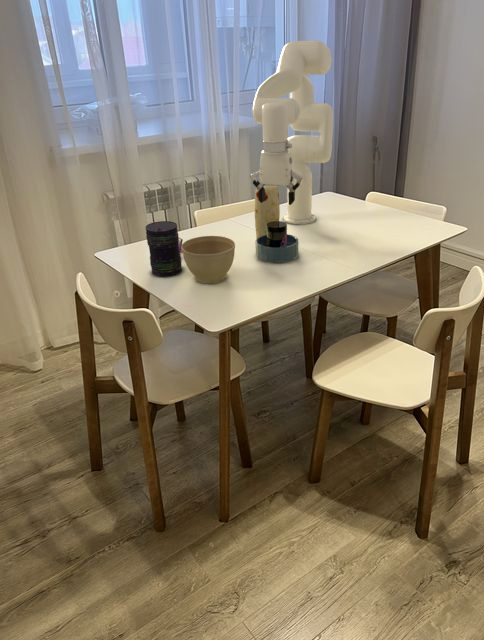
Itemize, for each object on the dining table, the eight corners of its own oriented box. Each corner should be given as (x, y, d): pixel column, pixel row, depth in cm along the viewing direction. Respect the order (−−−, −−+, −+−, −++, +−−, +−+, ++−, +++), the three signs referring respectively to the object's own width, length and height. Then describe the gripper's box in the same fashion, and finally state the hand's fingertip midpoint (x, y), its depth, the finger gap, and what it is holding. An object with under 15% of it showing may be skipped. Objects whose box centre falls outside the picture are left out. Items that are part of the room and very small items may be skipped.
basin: (264, 247, 189) (264, 231, 186) (303, 250, 185) (303, 235, 182) (250, 261, 178) (249, 245, 175) (291, 266, 173) (291, 249, 170)
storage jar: (155, 265, 177) (148, 221, 169) (184, 265, 177) (179, 220, 169) (148, 277, 169) (141, 231, 161) (179, 277, 168) (174, 231, 160)
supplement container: (274, 259, 177) (274, 228, 171) (263, 253, 182) (262, 223, 176) (291, 254, 180) (291, 224, 175) (279, 249, 185) (279, 219, 179)
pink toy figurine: (167, 232, 185) (179, 239, 179) (180, 234, 188) (193, 240, 182) (163, 251, 187) (176, 258, 181) (176, 252, 191) (189, 259, 184)
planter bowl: (194, 292, 158) (190, 257, 152) (179, 273, 171) (175, 240, 165) (244, 282, 163) (243, 248, 158) (226, 264, 176) (224, 232, 170)
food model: (261, 246, 189) (260, 189, 179) (251, 241, 194) (248, 185, 184) (284, 240, 194) (283, 184, 184) (273, 235, 199) (272, 180, 188)
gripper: (306, 145, 164) (305, 201, 173) (253, 143, 169) (255, 197, 178) (299, 150, 158) (299, 208, 167) (244, 148, 163) (247, 204, 172)
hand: (276, 202), depth 172 cm, fingers open, 9 cm apart
